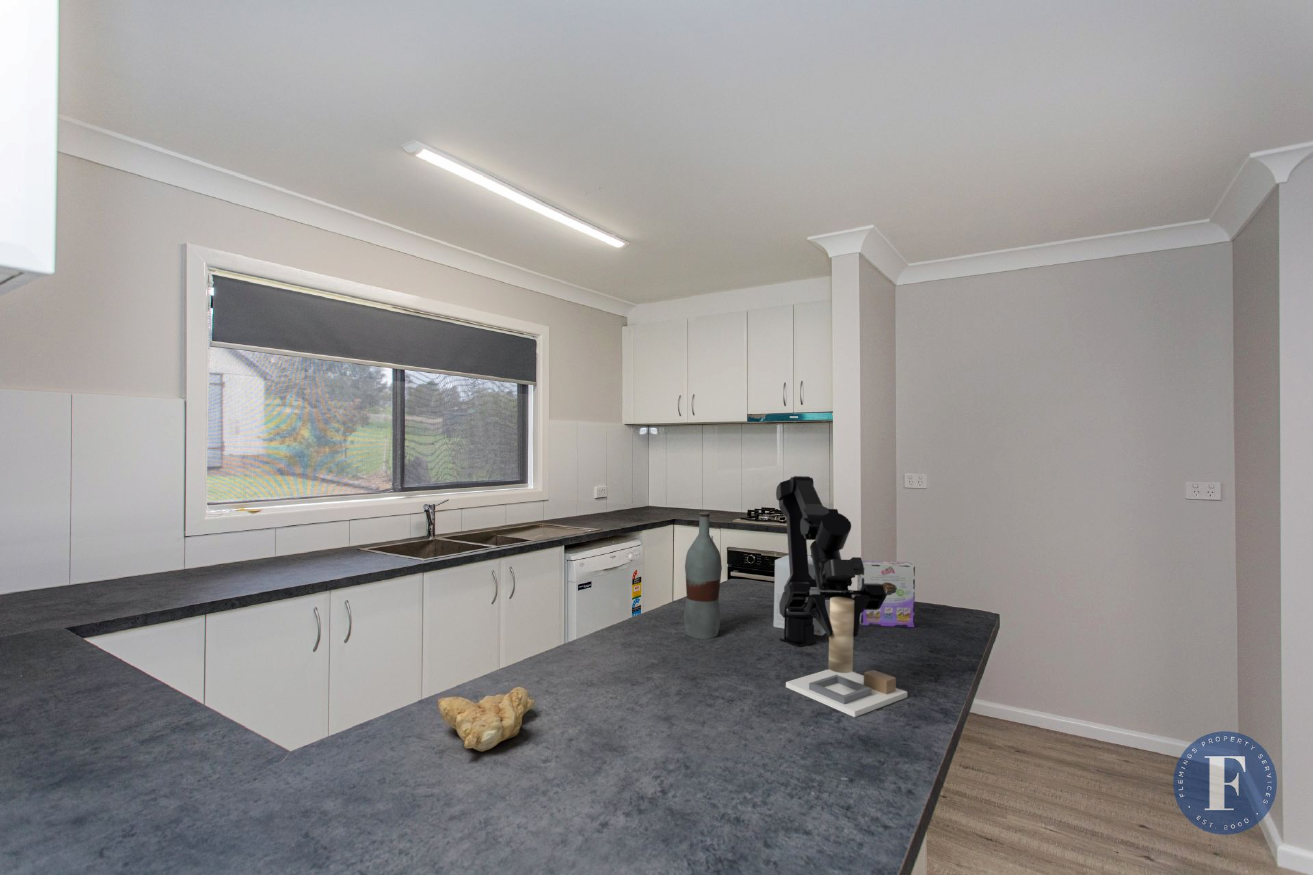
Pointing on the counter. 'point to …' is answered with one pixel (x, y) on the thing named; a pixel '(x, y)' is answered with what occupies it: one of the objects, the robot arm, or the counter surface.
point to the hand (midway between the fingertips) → (843, 635)
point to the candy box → (890, 593)
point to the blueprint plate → (849, 690)
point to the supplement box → (780, 580)
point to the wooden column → (841, 634)
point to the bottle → (702, 584)
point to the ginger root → (486, 717)
